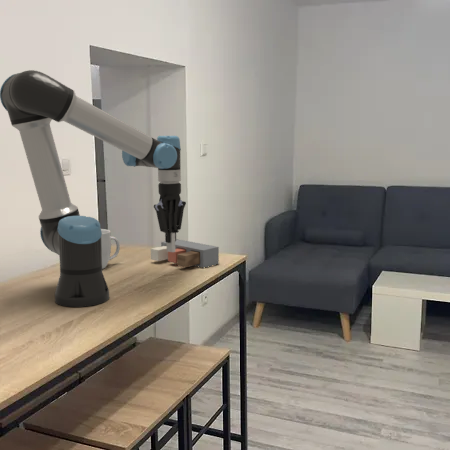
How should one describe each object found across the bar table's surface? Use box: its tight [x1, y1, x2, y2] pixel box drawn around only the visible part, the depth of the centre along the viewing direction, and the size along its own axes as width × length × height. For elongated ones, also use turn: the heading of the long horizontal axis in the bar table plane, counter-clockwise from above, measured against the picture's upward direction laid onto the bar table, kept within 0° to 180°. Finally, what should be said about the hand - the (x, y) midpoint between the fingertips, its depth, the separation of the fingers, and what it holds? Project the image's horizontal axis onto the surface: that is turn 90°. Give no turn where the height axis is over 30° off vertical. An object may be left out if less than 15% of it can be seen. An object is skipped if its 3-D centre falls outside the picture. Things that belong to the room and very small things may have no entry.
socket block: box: [160, 238, 220, 269], centre depth 206 cm, size 8×22×6 cm, turn 49°
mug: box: [101, 228, 121, 270], centre depth 196 cm, size 15×11×13 cm
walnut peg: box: [176, 251, 200, 268], centre depth 196 cm, size 9×4×4 cm, turn 139°
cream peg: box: [150, 245, 168, 262], centre depth 206 cm, size 9×4×4 cm, turn 139°
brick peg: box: [167, 248, 186, 264], centre depth 203 cm, size 9×4×4 cm, turn 139°
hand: (171, 251), depth 189 cm, fingers closed
